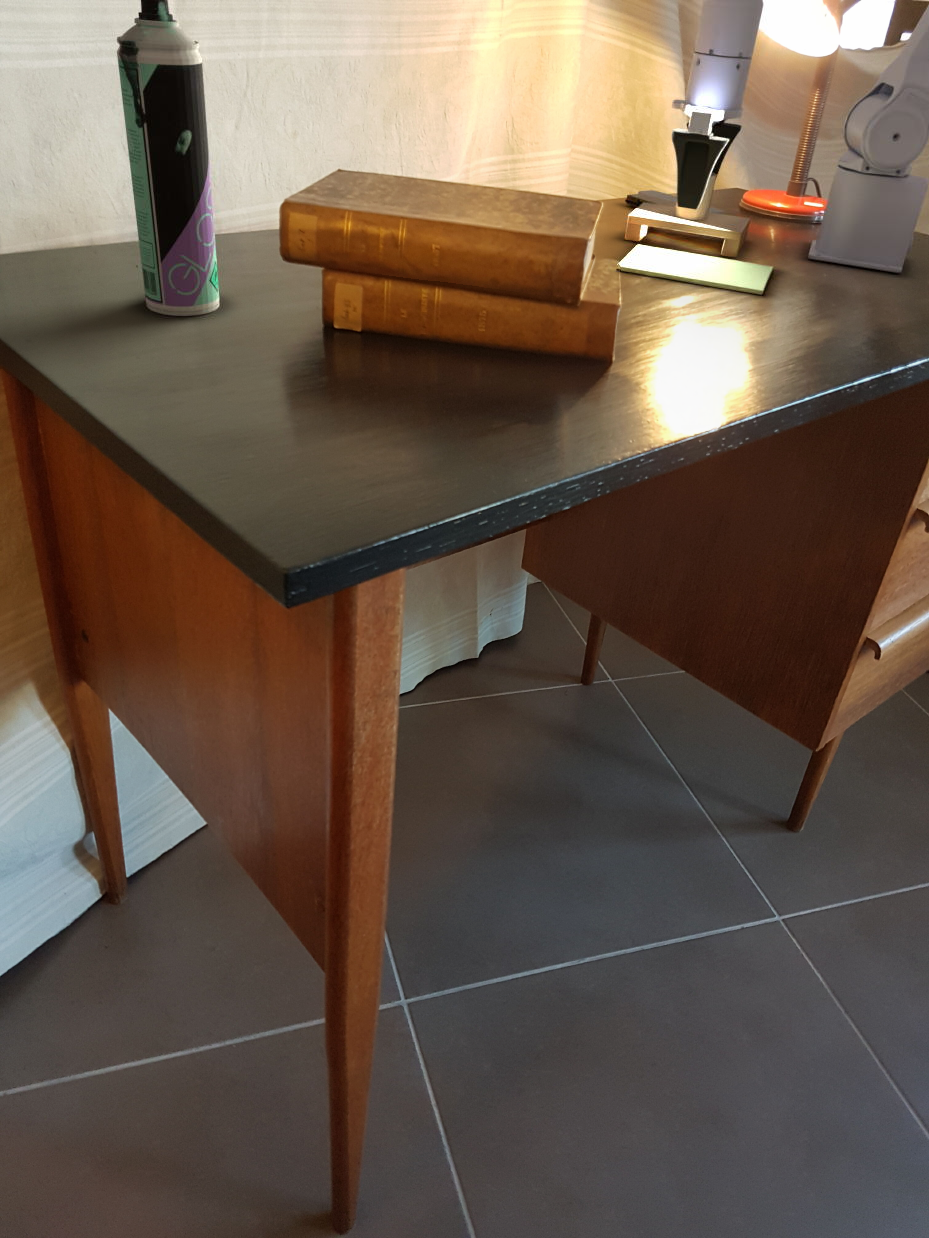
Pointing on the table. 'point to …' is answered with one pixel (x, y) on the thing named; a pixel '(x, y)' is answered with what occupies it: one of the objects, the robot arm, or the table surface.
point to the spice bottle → (703, 207)
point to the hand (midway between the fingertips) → (693, 201)
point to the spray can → (169, 162)
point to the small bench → (688, 226)
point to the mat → (697, 269)
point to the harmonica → (657, 199)
